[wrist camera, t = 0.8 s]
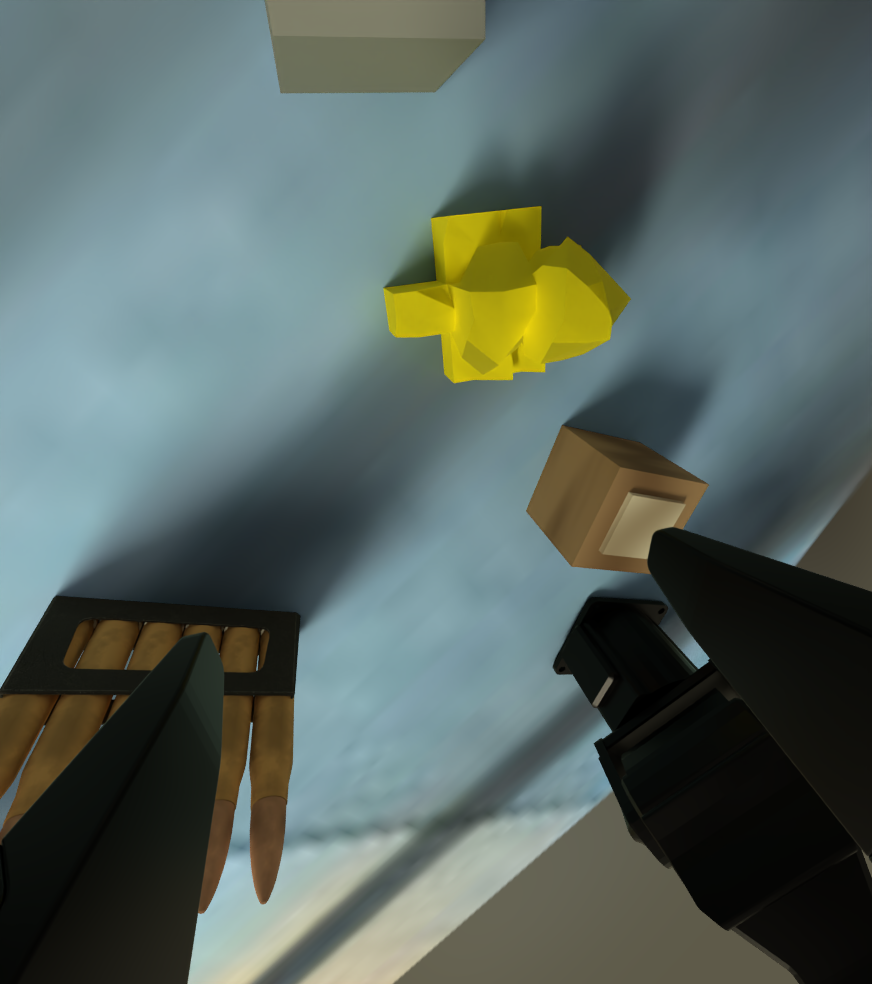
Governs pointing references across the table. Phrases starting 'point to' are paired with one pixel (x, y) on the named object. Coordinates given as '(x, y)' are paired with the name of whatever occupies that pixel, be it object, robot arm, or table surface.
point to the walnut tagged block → (609, 499)
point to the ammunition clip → (100, 674)
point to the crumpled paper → (506, 297)
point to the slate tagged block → (372, 43)
